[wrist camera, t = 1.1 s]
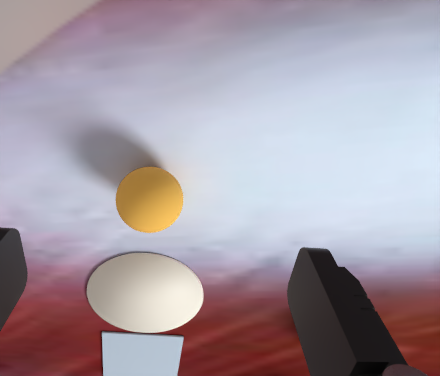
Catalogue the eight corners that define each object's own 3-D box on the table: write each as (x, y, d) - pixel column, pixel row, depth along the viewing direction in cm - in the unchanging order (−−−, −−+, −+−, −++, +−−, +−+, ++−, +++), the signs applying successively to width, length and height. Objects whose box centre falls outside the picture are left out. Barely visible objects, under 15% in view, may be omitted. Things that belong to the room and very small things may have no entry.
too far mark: (102, 331, 40) (101, 332, 40) (183, 335, 41) (183, 337, 41) (103, 376, 45) (103, 378, 45) (176, 379, 46) (176, 380, 46)
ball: (123, 151, 28) (108, 184, 23) (187, 159, 29) (185, 193, 24) (122, 204, 31) (108, 243, 26) (181, 210, 31) (177, 249, 27)
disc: (84, 247, 33) (83, 248, 33) (211, 258, 35) (211, 259, 35) (89, 328, 40) (89, 329, 40) (195, 334, 41) (195, 335, 41)
